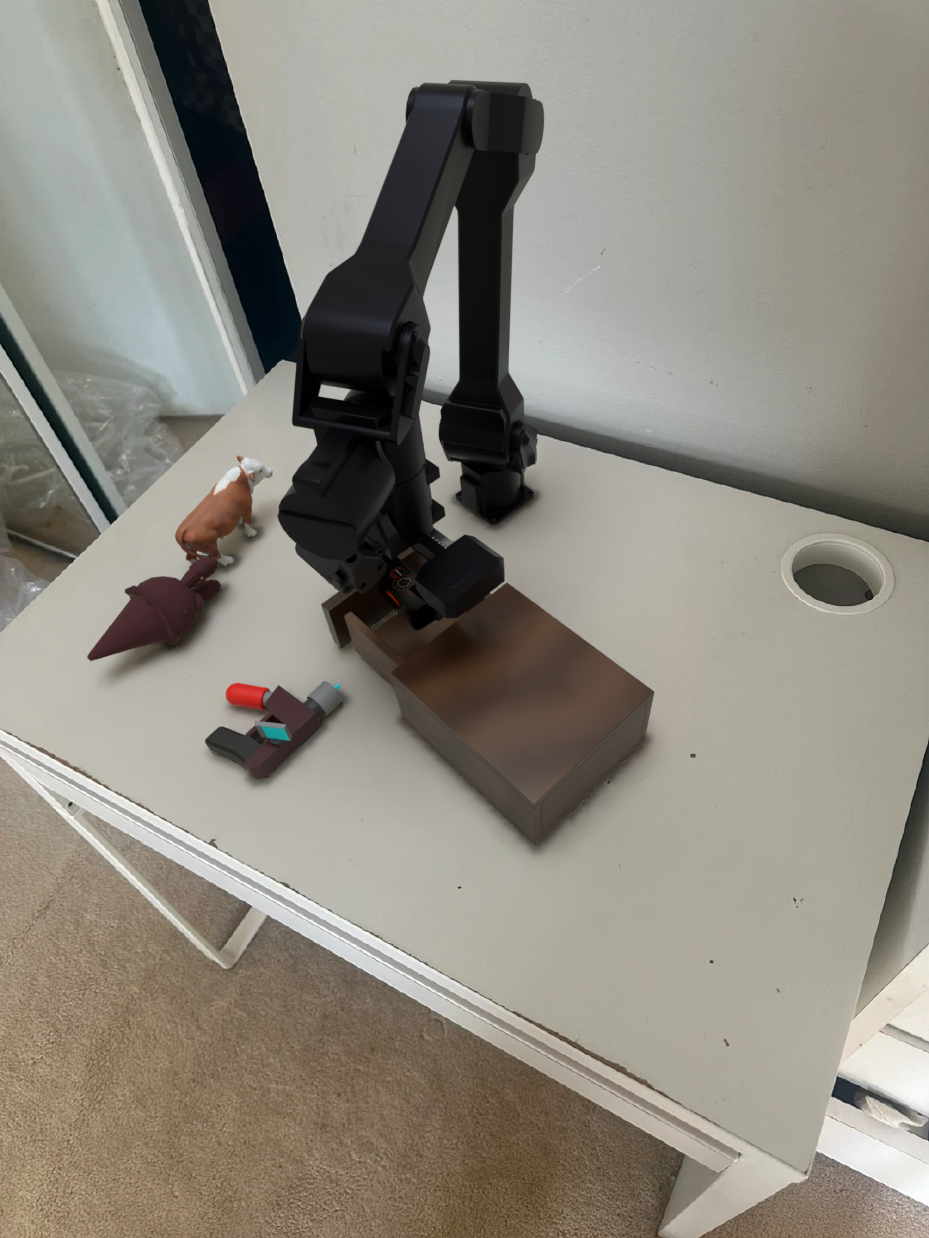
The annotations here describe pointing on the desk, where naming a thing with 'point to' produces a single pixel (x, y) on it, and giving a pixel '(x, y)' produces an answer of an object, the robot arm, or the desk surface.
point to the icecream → (159, 610)
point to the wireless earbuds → (404, 594)
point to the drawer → (392, 638)
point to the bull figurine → (222, 512)
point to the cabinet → (523, 708)
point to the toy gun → (272, 725)
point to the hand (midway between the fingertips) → (414, 595)
